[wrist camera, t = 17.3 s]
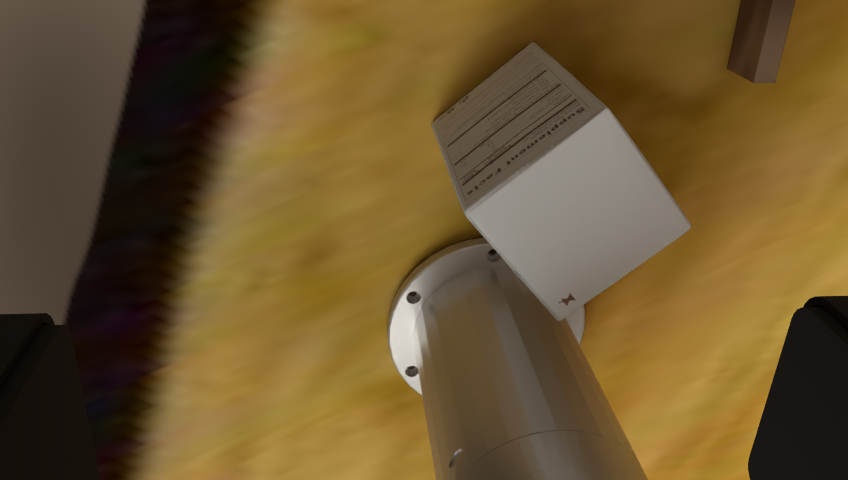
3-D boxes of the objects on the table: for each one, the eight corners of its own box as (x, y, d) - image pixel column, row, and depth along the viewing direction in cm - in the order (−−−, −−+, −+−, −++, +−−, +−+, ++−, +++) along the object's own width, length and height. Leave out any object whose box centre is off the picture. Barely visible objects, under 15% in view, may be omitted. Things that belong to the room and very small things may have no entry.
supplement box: (604, 135, 43) (699, 232, 32) (500, 211, 45) (557, 329, 34) (534, 34, 40) (612, 103, 29) (425, 120, 42) (460, 216, 30)
